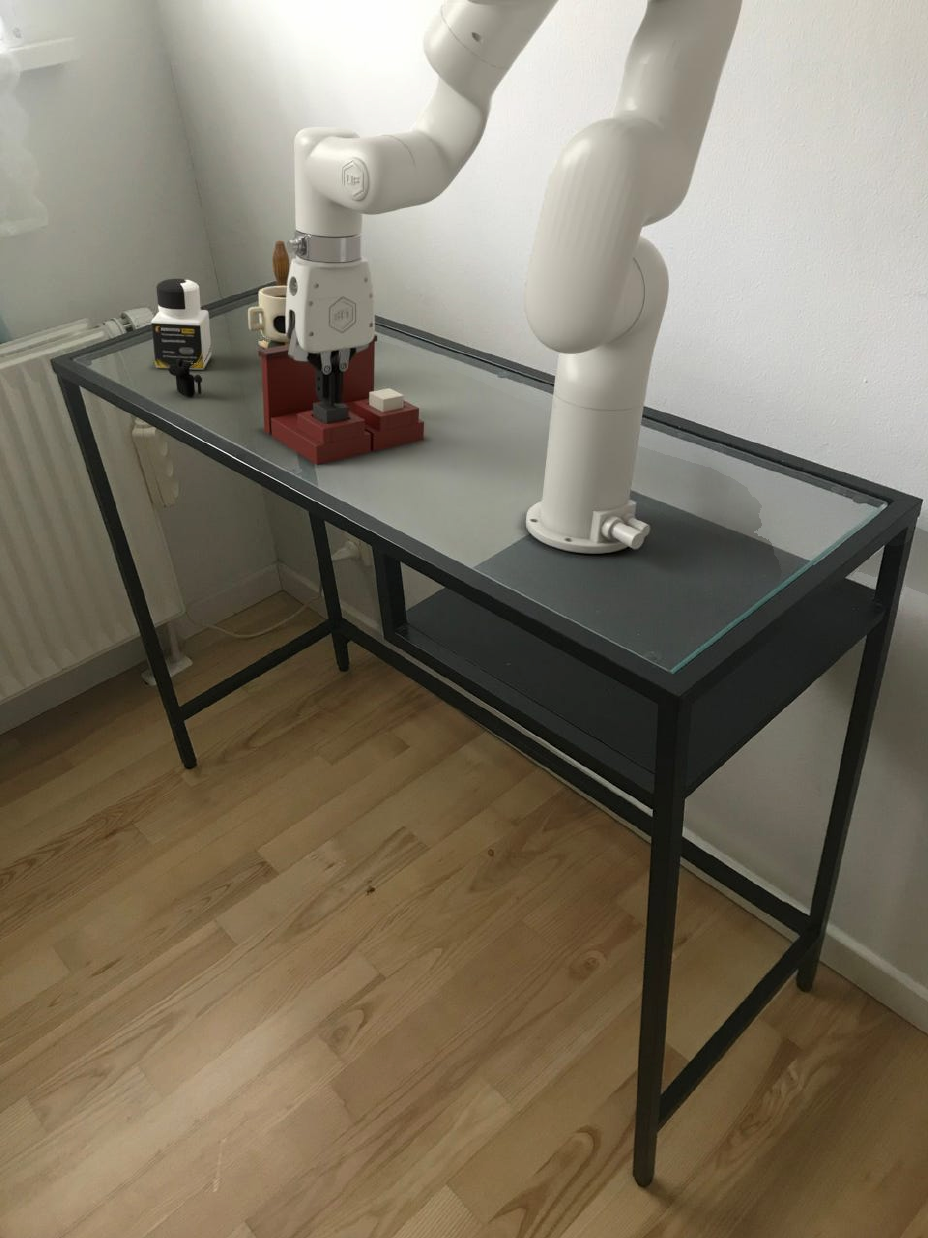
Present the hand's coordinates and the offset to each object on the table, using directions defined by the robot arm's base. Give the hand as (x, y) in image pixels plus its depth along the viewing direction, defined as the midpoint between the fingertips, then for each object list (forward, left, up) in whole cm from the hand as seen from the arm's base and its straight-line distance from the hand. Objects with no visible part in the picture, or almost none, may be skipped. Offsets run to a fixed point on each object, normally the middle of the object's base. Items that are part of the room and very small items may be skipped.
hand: (329, 400), depth 129 cm
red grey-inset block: (+2, 0, -7) cm, 7 cm away
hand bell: (+41, -18, -7) cm, 45 cm away
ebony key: (0, 0, -2) cm, 2 cm away
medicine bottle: (+40, 0, -7) cm, 41 cm away
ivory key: (0, -9, -2) cm, 9 cm away
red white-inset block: (+2, -9, -7) cm, 11 cm away
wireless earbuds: (+27, +7, -7) cm, 29 cm away
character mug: (+25, -9, -7) cm, 28 cm away
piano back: (+9, -4, -7) cm, 12 cm away
